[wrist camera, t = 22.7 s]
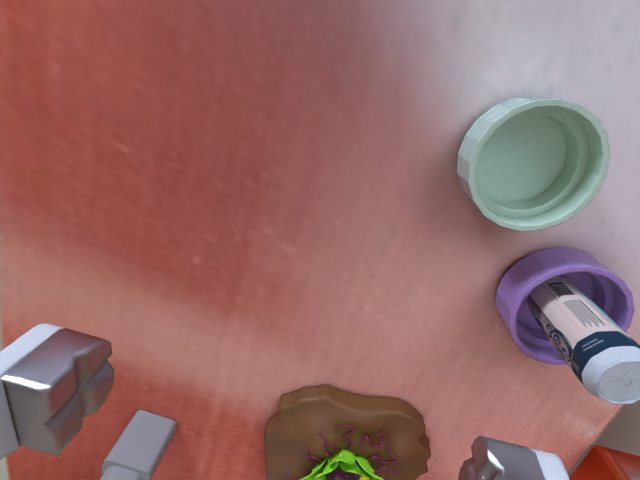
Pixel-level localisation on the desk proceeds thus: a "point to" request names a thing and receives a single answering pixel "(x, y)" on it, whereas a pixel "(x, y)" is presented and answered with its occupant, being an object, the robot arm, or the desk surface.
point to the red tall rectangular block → (608, 466)
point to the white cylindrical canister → (587, 340)
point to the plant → (344, 437)
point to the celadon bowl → (533, 162)
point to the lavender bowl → (542, 267)
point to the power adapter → (139, 448)
